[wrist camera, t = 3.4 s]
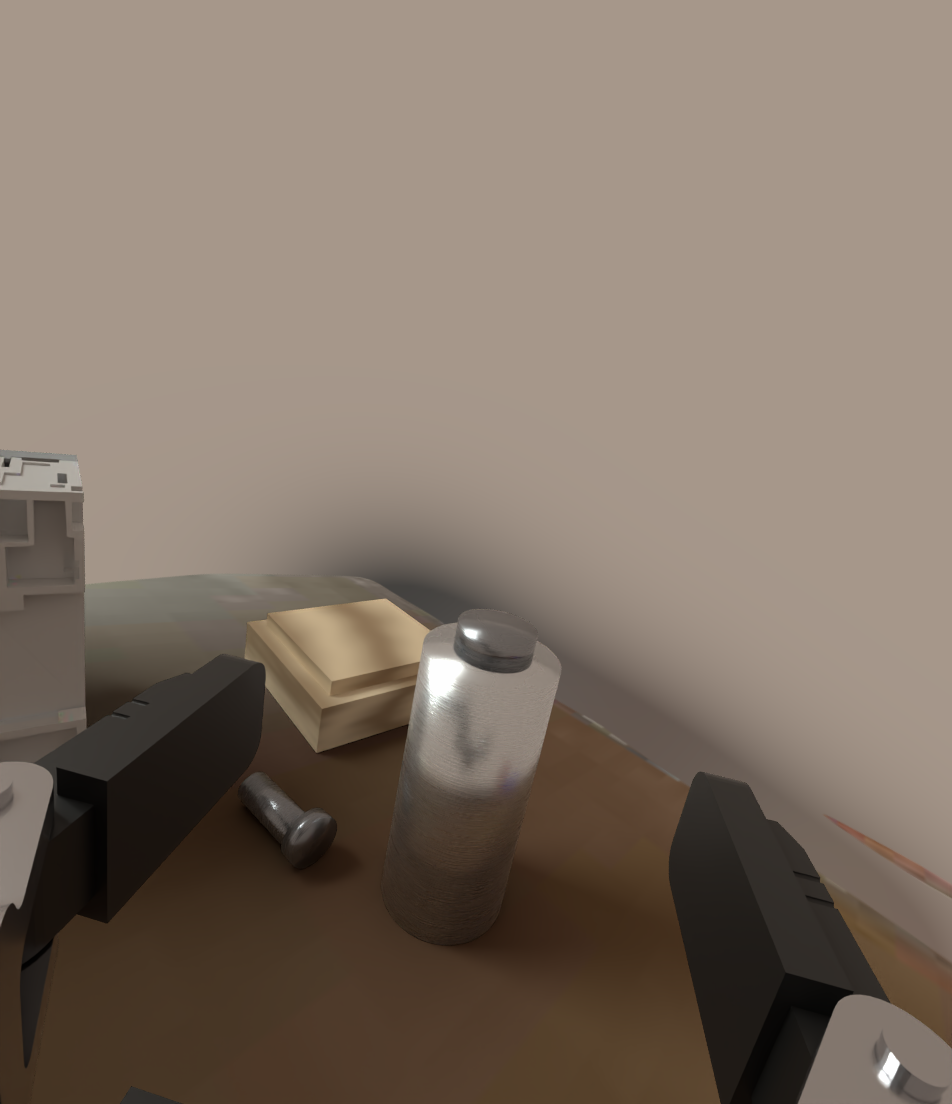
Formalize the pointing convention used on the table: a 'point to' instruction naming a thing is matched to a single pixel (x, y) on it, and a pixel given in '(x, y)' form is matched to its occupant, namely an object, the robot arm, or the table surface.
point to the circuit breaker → (41, 604)
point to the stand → (340, 668)
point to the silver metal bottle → (467, 774)
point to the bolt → (288, 820)
